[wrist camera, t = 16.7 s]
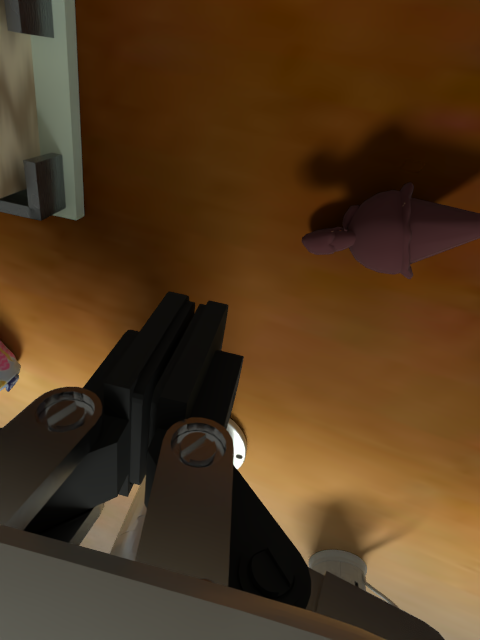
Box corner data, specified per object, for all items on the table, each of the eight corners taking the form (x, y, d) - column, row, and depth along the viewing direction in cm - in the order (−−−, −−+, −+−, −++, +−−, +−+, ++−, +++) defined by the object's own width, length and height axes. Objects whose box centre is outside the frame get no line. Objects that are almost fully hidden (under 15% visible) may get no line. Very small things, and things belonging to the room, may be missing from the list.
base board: (84, 215, 40) (76, 220, 39) (-21, 192, 40) (-32, 196, 39) (72, -54, 29) (61, -60, 28) (-70, -79, 30) (-87, -86, 29)
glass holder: (298, 554, 63) (293, 675, 50) (388, 539, 57) (408, 671, 44) (324, 585, 66) (324, 706, 53) (411, 573, 60) (436, 705, 48)
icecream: (529, 167, 26) (295, 193, 30) (520, 282, 28) (301, 290, 32) (497, 173, 32) (308, 194, 37) (491, 266, 34) (312, 275, 39)
